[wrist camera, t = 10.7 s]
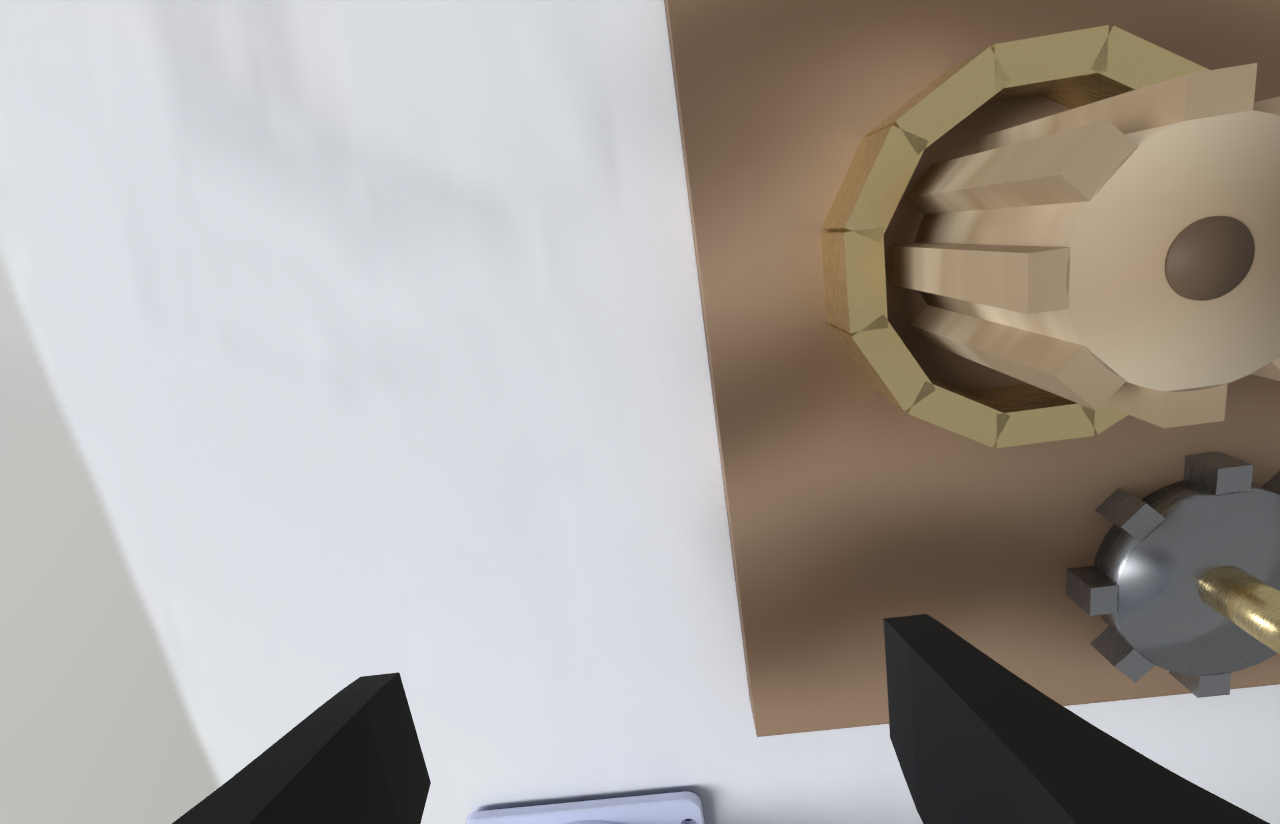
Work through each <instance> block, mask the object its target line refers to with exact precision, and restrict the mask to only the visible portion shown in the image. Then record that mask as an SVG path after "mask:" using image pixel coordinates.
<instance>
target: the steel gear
mask: <svg viewBox="0 0 1280 824" xmlns="http://www.w3.org/2000/svg"><path fill="white" fill-rule="evenodd" d="M1252 473H1253V464H1250V463H1248V462H1245V461H1242V460H1240V459H1237V458H1235V457H1232V456H1230V455H1227V454H1224V453H1222V452H1219V451H1216V452H1208V453H1200V454H1192V455H1185V467H1184V480H1183V481H1179V482H1176V483H1173V484H1170V485H1168V486H1165V487H1163V488H1160V489H1158V490H1156V491H1155V492H1153V493H1151V494H1149V495H1147V496H1146V497H1144V498H1143V499H1141V500H1140V499H1138V498H1136V497H1134V496H1132V495H1131V494H1129V493H1127V492H1125V491H1123V490H1122V489H1120V488H1117V489H1116V490H1115V491H1114V492H1113V493H1112V494H1111V495H1110V496H1109V497H1108V498H1107V499H1106V500H1105V501H1104V502H1103V503H1102V504H1101V505H1100V506H1099V507H1098V508H1097V509H1096V510H1095V511H1096V512H1097V513H1099V514H1100V515H1101V516H1102V517H1104V518H1105V519H1106V520H1108V521H1109V522H1110V523H1111V524H1113V526H1112V527H1111V529H1110V530H1109V531H1108V533H1107V534H1106V536H1105V538H1104V540H1103V541H1102V543H1101V545H1100V547H1099V550H1098V552H1097V555H1096V557H1095V561H1094V565H1093V566H1086V567H1077V568H1068V569H1067V585H1066V595H1067V596H1068V597H1069V598H1070V599H1071V600H1073V601H1074V602H1075V603H1076V604H1077V605H1078V606H1079V607H1080V608H1082V609H1083V610H1084V611H1085V612H1086V613H1087V614H1088V615H1089V616H1093V615H1101V617H1102V619H1103V620H1104V621H1105V623H1106V624H1107V625H1108V627H1107V628H1106V629H1105V630H1104V631H1103V632H1102V633H1101V634H1100V635H1099V636H1098V637H1096V638H1095V639H1094V640H1093V641H1092V642H1091V643H1090V644H1091V645H1092V646H1093V647H1094V648H1095V649H1096V650H1097V651H1098V652H1099V653H1100V654H1101V655H1102V656H1104V657H1105V658H1106V659H1107V660H1108V661H1109V662H1110V663H1111V664H1112V665H1113V666H1114V667H1115V668H1117V669H1118V670H1119V671H1121V672H1122V673H1123V674H1125V675H1126V676H1127V677H1129V678H1130V679H1131V680H1133V681H1134V682H1135V683H1136V682H1137V681H1138V680H1139V679H1140V678H1142V677H1143V676H1144V675H1145V674H1146V673H1147V672H1148V671H1150V670H1151V669H1152V668H1153V667H1154V666H1155V665H1157V666H1159V667H1161V668H1163V669H1166V670H1169V673H1170V674H1171V675H1172V676H1173V677H1174V678H1175V679H1177V680H1178V681H1179V682H1180V683H1181V684H1182V685H1184V686H1185V687H1186V688H1187V689H1188V690H1189V691H1191V692H1192V693H1193V694H1194V695H1195V696H1196V697H1198V698H1199V697H1209V696H1219V695H1229V693H1230V683H1231V674H1232V672H1235V671H1239V670H1243V669H1246V668H1248V667H1251V666H1254V665H1256V664H1258V663H1261V662H1263V661H1265V660H1267V659H1269V658H1271V657H1272V656H1274V655H1276V654H1277V653H1278V654H1279V655H1280V471H1278V472H1277V473H1276V474H1275V475H1274V476H1273V477H1272V478H1271V479H1270V480H1269V481H1268V482H1266V483H1265V484H1264V485H1263V486H1262V487H1260V486H1257V485H1255V484H1253V483H1251V482H1252Z"/></svg>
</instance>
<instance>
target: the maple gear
mask: <svg viewBox="0 0 1280 824" xmlns="http://www.w3.org/2000/svg"><path fill="white" fill-rule="evenodd" d="M1256 74H1257V63H1253V64H1247V65H1240V66H1234V67H1228V68H1221V69H1215V70H1209V71H1203V72H1196V73H1190V74H1186V75H1183V76H1179V77H1176V78H1173V79H1169V80H1166V81H1163V82H1160V83H1156V84H1153V85H1150V86H1146V87H1143V88H1140V89H1137V90H1133V91H1130V92H1127V93H1123V94H1120V95H1117V96H1113V97H1110V98H1107V99H1104V100H1100V101H1097V102H1094V103H1090V104H1087V105H1084V106H1081V107H1077V108H1074V109H1071V110H1067V111H1064V112H1061V113H1058V114H1054V115H1051V116H1048V117H1044V118H1041V119H1038V120H1035V121H1031V122H1028V123H1025V124H1021V125H1018V126H1015V127H1012V128H1008V129H1005V130H1002V131H998V132H995V133H992V134H988V135H985V136H982V137H979V153H976V154H972V155H968V156H964V157H961V158H957V159H953V160H949V161H945V162H941V163H937V164H933V165H932V166H931V167H930V168H929V170H928V171H927V172H926V173H925V175H924V176H923V177H922V178H921V179H920V181H919V182H918V183H917V184H916V186H915V187H914V188H913V189H912V190H911V192H910V193H909V194H908V195H907V197H906V199H907V200H908V201H910V202H911V203H912V204H913V205H914V206H916V207H917V208H918V209H919V210H920V211H922V212H923V213H924V214H925V215H924V216H923V218H922V221H921V223H920V226H919V228H918V231H917V235H916V238H915V242H914V243H907V244H901V245H894V246H889V265H890V285H895V286H899V287H904V288H909V289H913V290H918V291H920V293H921V295H922V297H923V299H924V300H925V302H926V303H927V306H926V307H925V308H924V309H923V310H922V312H921V313H920V314H919V315H918V316H917V317H916V318H915V320H914V321H913V322H912V323H911V324H910V325H911V326H912V327H914V328H915V329H916V330H917V331H919V332H920V333H921V334H922V335H923V336H925V337H926V338H927V339H928V340H930V341H931V342H932V343H933V344H935V345H936V346H937V347H939V348H942V349H944V350H947V351H949V352H952V353H954V354H957V355H959V356H962V357H964V358H967V359H969V360H972V361H974V362H977V363H979V364H982V365H984V366H986V367H989V368H991V369H994V370H996V371H999V372H1001V373H1004V374H1006V375H1009V376H1011V377H1014V378H1016V379H1019V380H1021V381H1024V382H1026V383H1029V384H1031V385H1034V386H1036V387H1039V388H1041V389H1044V390H1046V391H1048V392H1051V393H1053V394H1056V395H1058V396H1061V397H1063V398H1066V399H1068V400H1071V401H1073V402H1076V403H1078V404H1081V405H1083V406H1086V407H1088V408H1091V409H1093V410H1096V411H1097V410H1098V409H1099V408H1100V407H1101V406H1102V405H1104V406H1107V407H1110V408H1112V409H1115V410H1118V411H1120V412H1123V413H1125V414H1128V415H1131V416H1133V417H1136V418H1138V419H1141V420H1144V421H1146V422H1149V423H1151V424H1154V425H1157V426H1159V427H1162V428H1171V427H1179V426H1187V425H1195V424H1203V423H1211V422H1219V421H1224V418H1225V407H1226V396H1227V386H1228V384H1227V383H1230V382H1233V381H1236V380H1238V379H1240V378H1243V377H1245V376H1247V375H1250V374H1252V375H1256V376H1260V377H1264V378H1269V379H1273V380H1277V381H1280V97H1276V98H1271V99H1267V100H1262V101H1258V102H1254V95H1255V84H1256Z"/></svg>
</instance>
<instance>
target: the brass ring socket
mask: <svg viewBox="0 0 1280 824" xmlns="http://www.w3.org/2000/svg"><path fill="white" fill-rule="evenodd" d="M1203 71H1209V69H1207V68H1205V67H1203V66H1200V65H1198V64H1196V63H1194V62H1192V61H1190V60H1187V59H1185V58H1183V57H1181V56H1179V55H1177V54H1174V53H1172V52H1170V51H1168V50H1166V49H1163V48H1161V47H1159V46H1157V45H1155V44H1153V43H1150V42H1148V41H1146V40H1144V39H1142V38H1140V37H1137V36H1135V35H1133V34H1131V33H1129V32H1127V31H1124V30H1122V29H1120V28H1118V27H1116V26H1112V27H1109V25H1106V26H1100V27H1094V28H1088V29H1082V30H1076V31H1070V32H1064V33H1058V34H1052V35H1046V36H1040V37H1034V38H1028V39H1022V40H1016V41H1010V42H1004V43H998V44H994V45H992V46H989V47H988V48H986V49H984V50H982V51H981V52H979V53H977V54H975V55H974V56H972V57H970V58H968V59H967V60H965V61H963V62H961V63H960V64H958V65H956V66H954V67H953V68H951V69H949V70H947V71H946V72H944V73H943V74H942V75H940V76H939V77H938V78H937V79H935V80H934V81H933V82H932V83H930V84H929V85H928V86H927V87H925V88H924V89H923V90H922V91H920V92H919V93H918V94H917V95H915V96H914V97H913V98H911V99H910V100H909V101H908V102H906V103H905V104H904V105H903V106H901V107H900V108H899V109H898V110H896V111H895V112H894V113H893V114H891V115H890V116H889V117H888V118H886V119H885V120H884V121H883V122H881V123H880V124H879V125H877V126H876V127H875V128H874V129H872V130H871V131H870V132H869V133H867V134H866V135H865V137H866V138H864V139H862V140H861V142H860V144H859V147H858V149H857V151H856V153H855V155H854V158H853V160H852V162H851V164H850V166H849V169H848V171H847V173H846V175H845V177H844V180H843V182H842V184H841V186H840V188H839V191H838V193H837V195H836V197H835V199H834V202H833V204H832V206H831V208H830V210H829V213H828V215H827V217H826V219H825V221H824V224H823V226H822V228H821V229H823V230H825V231H828V232H823V233H820V234H821V248H822V261H823V275H824V289H825V303H826V316H827V321H828V322H830V324H828V325H829V327H830V328H831V329H832V331H833V332H834V333H835V335H836V336H837V338H838V339H839V340H840V342H841V343H842V345H843V346H844V347H845V349H846V350H847V351H848V353H849V354H850V356H851V357H852V358H853V360H854V361H855V363H856V364H857V365H858V367H859V368H860V370H861V371H862V372H863V374H864V375H865V376H866V378H867V379H868V381H869V382H870V383H871V385H872V386H873V388H874V389H875V390H876V391H877V392H878V393H880V394H881V395H882V396H884V397H885V398H887V399H888V400H889V401H891V402H892V403H893V404H895V405H896V406H898V407H899V408H900V409H902V410H903V411H905V412H906V413H907V414H909V415H912V416H914V417H917V418H919V419H922V420H924V421H927V422H929V423H932V424H934V425H937V426H939V427H942V428H944V429H947V430H949V431H952V432H954V433H957V434H959V435H962V436H964V437H967V438H969V439H972V440H974V441H977V442H979V443H982V444H984V445H987V446H989V447H992V448H993V446H994V447H995V448H1003V447H1011V446H1019V445H1027V444H1035V443H1042V442H1050V441H1058V440H1066V439H1074V438H1082V437H1090V436H1094V433H1096V434H1100V433H1101V432H1103V431H1104V430H1106V429H1107V428H1109V427H1110V426H1112V425H1114V424H1115V423H1117V422H1118V421H1120V420H1121V419H1123V418H1124V417H1126V416H1128V414H1125V413H1123V412H1120V411H1118V410H1115V409H1112V408H1110V407H1107V406H1104V405H1102V406H1101V407H1100V408H1099V409H1098V410H1097V411H1096V410H1093V409H1091V408H1088V407H1086V406H1083V405H1081V404H1078V403H1076V402H1073V401H1071V400H1068V399H1066V398H1063V397H1061V396H1058V395H1056V394H1053V393H1051V392H1048V391H1046V390H1044V389H1041V388H1039V387H1036V386H1034V385H1031V384H1029V383H1026V384H1018V385H1011V386H1003V387H996V388H988V389H981V390H973V391H966V392H962V391H960V390H957V389H955V388H952V387H950V386H947V385H945V384H943V383H940V382H938V381H935V380H933V379H930V378H928V377H927V376H926V374H925V373H924V372H923V370H922V369H921V367H920V366H919V364H918V363H917V361H916V360H915V359H914V357H913V356H912V354H911V353H910V351H909V350H908V349H907V347H906V346H905V344H904V343H903V341H902V340H901V339H900V337H899V336H898V334H897V333H896V331H895V330H894V329H893V327H892V326H891V324H890V323H889V321H888V318H887V297H886V277H885V256H884V233H885V231H886V229H887V227H888V225H889V222H890V220H891V218H892V216H893V214H894V212H895V210H896V208H897V206H898V204H899V202H900V200H901V197H902V195H903V193H904V191H905V189H906V187H907V185H908V183H909V181H910V179H911V177H912V175H913V173H914V170H915V168H916V166H917V164H918V162H919V160H920V158H921V156H922V154H923V152H924V150H925V149H926V148H927V147H928V146H930V145H931V144H932V143H933V142H935V141H936V140H937V139H939V138H940V137H941V136H942V135H944V134H945V133H946V132H948V131H949V130H950V129H951V128H953V127H954V126H955V125H957V124H958V123H959V122H961V121H962V120H963V119H964V118H966V117H967V116H968V115H970V114H971V113H972V112H973V111H975V110H976V109H977V108H979V107H980V106H981V105H982V104H984V103H989V102H996V101H1002V100H1008V99H1014V98H1020V97H1026V96H1033V95H1041V96H1044V97H1046V98H1048V99H1050V100H1053V101H1055V102H1057V103H1059V104H1062V105H1064V106H1066V107H1068V108H1070V109H1074V108H1077V107H1081V106H1084V105H1087V104H1090V103H1094V102H1097V101H1100V100H1104V99H1107V98H1110V97H1113V96H1117V95H1120V94H1123V93H1127V92H1130V91H1133V90H1137V89H1140V88H1143V87H1146V86H1150V85H1153V84H1156V83H1160V82H1163V81H1166V80H1169V79H1173V78H1176V77H1179V76H1183V75H1186V74H1190V73H1196V72H1203Z"/></svg>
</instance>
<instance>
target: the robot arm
mask: <svg viewBox="0 0 1280 824" xmlns="http://www.w3.org/2000/svg"><path fill="white" fill-rule="evenodd" d="M883 621H884V638H885V656H886V673H887V691H888V708H889V725H890V738H891V741H892V744H893V746H894V749H895V752H896V755H897V757H898V760H899V763H900V766H901V769H902V771H903V774H904V777H905V780H906V782H907V785H908V788H909V790H910V793H911V796H912V798H913V801H914V803H915V806H916V809H917V811H918V813H919V815H920V817H921V819H922V822H923V824H1270V823H1268V822H1266V821H1264V820H1262V819H1260V818H1258V817H1256V816H1254V815H1252V814H1250V813H1248V812H1247V811H1245V810H1243V809H1241V808H1239V807H1237V806H1235V805H1233V804H1231V803H1229V802H1228V801H1226V800H1224V799H1222V798H1220V797H1218V796H1216V795H1214V794H1212V793H1210V792H1208V791H1207V790H1205V789H1203V788H1201V787H1199V786H1197V785H1195V784H1193V783H1191V782H1189V781H1188V780H1186V779H1184V778H1182V777H1180V776H1179V775H1177V774H1175V773H1173V772H1171V771H1170V770H1168V769H1166V768H1164V767H1163V766H1161V765H1159V764H1157V763H1155V762H1154V761H1152V760H1150V759H1149V758H1147V757H1145V756H1144V755H1142V754H1140V753H1139V752H1137V751H1135V750H1133V749H1132V748H1130V747H1128V746H1127V745H1125V744H1123V743H1122V742H1120V741H1118V740H1117V739H1115V738H1113V737H1112V736H1110V735H1108V734H1107V733H1105V732H1103V731H1102V730H1100V729H1098V728H1097V727H1095V726H1093V725H1092V724H1090V723H1089V722H1087V721H1085V720H1084V719H1082V718H1081V717H1079V716H1077V715H1076V714H1074V713H1073V712H1071V711H1070V710H1068V709H1066V708H1065V707H1063V706H1062V705H1060V704H1059V703H1057V702H1056V701H1054V700H1052V699H1051V698H1049V697H1048V696H1046V695H1045V694H1043V693H1042V692H1040V691H1039V690H1037V689H1036V688H1034V687H1033V686H1031V685H1030V684H1028V683H1027V682H1025V681H1024V680H1022V679H1021V678H1019V677H1018V676H1016V675H1015V674H1013V673H1012V672H1010V671H1009V670H1008V669H1006V668H1005V667H1003V666H1002V665H1000V664H999V663H997V662H996V661H995V660H993V659H992V658H990V657H989V656H987V655H986V654H984V653H983V652H982V651H980V650H979V649H977V648H976V647H974V646H973V645H972V644H970V643H969V642H967V641H966V640H964V639H963V638H962V637H960V636H959V635H957V634H956V633H954V632H953V631H952V630H950V629H949V628H947V627H946V626H944V625H943V624H942V623H940V622H939V621H937V620H936V619H934V618H933V617H931V616H930V615H928V614H920V615H911V616H902V617H893V618H884V619H883ZM430 783H431V782H430V779H429V775H428V772H427V768H426V765H425V761H424V758H423V754H422V751H421V747H420V744H419V740H418V737H417V733H416V730H415V726H414V723H413V719H412V716H411V712H410V709H409V705H408V702H407V698H406V695H405V691H404V688H403V684H402V681H401V677H400V674H399V673H391V674H382V675H373V676H364V677H360V678H358V679H357V680H355V681H354V682H352V683H351V684H350V685H348V686H347V687H345V688H344V689H343V690H341V691H340V692H339V693H337V694H336V695H335V696H333V697H332V698H331V699H330V700H328V701H327V702H326V703H324V704H323V705H322V706H321V707H319V708H318V709H317V710H316V711H314V712H313V713H312V714H311V715H309V716H308V717H307V718H306V719H304V720H303V721H302V722H301V723H299V724H298V725H297V726H296V727H294V728H293V729H292V730H291V731H289V732H288V733H287V734H286V735H285V736H283V737H282V738H281V739H280V740H278V741H277V742H276V743H275V744H273V745H272V746H271V747H270V748H268V749H267V750H266V751H265V752H263V753H262V754H261V755H260V756H258V757H257V758H256V759H255V760H253V761H252V762H251V763H250V764H248V765H247V766H246V767H245V768H243V769H242V770H241V771H240V772H239V773H237V774H236V775H235V776H234V777H232V778H231V779H230V780H229V781H227V782H226V783H225V784H223V785H222V786H221V787H220V788H218V789H217V790H216V791H214V792H213V793H212V794H210V795H209V796H208V797H206V798H205V799H204V800H203V801H201V802H200V803H198V804H197V805H196V806H195V807H193V808H192V809H191V810H189V811H188V812H187V813H185V814H184V815H183V816H181V817H180V818H179V819H178V820H176V821H175V822H173V823H172V824H420V823H421V819H422V815H423V811H424V807H425V803H426V799H427V795H428V791H429V787H430ZM684 819H693V820H690V821H687V820H684ZM465 824H705V822H704V815H703V809H702V802H701V800H700V798H699V797H698V796H697V795H696V794H694V793H692V792H685V791H684V792H674V793H663V794H653V795H642V796H632V797H622V798H611V799H601V800H590V801H580V802H569V803H559V804H549V805H538V806H528V807H517V808H507V809H497V810H486V811H477V812H473V813H471V814H470V815H468V816H467V818H466V821H465Z"/></svg>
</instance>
